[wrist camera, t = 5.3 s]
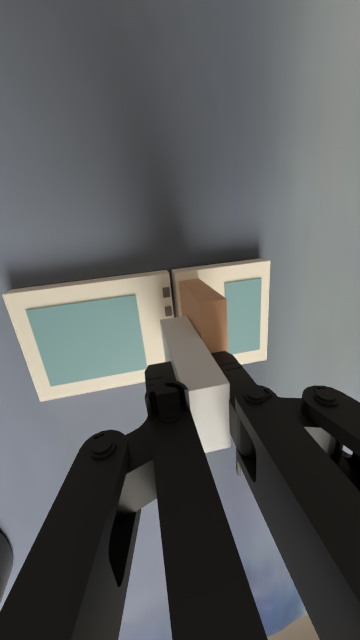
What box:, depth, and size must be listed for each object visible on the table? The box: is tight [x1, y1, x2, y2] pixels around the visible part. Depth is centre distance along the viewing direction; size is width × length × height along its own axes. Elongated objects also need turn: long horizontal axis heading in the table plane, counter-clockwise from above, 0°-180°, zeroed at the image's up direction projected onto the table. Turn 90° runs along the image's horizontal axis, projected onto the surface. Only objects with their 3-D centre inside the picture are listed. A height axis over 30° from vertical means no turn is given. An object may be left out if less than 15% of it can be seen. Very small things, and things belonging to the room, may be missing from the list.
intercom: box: [171, 258, 270, 365], centre depth 15 cm, size 6×7×6 cm
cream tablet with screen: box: [2, 270, 174, 402], centre depth 16 cm, size 9×7×1 cm
